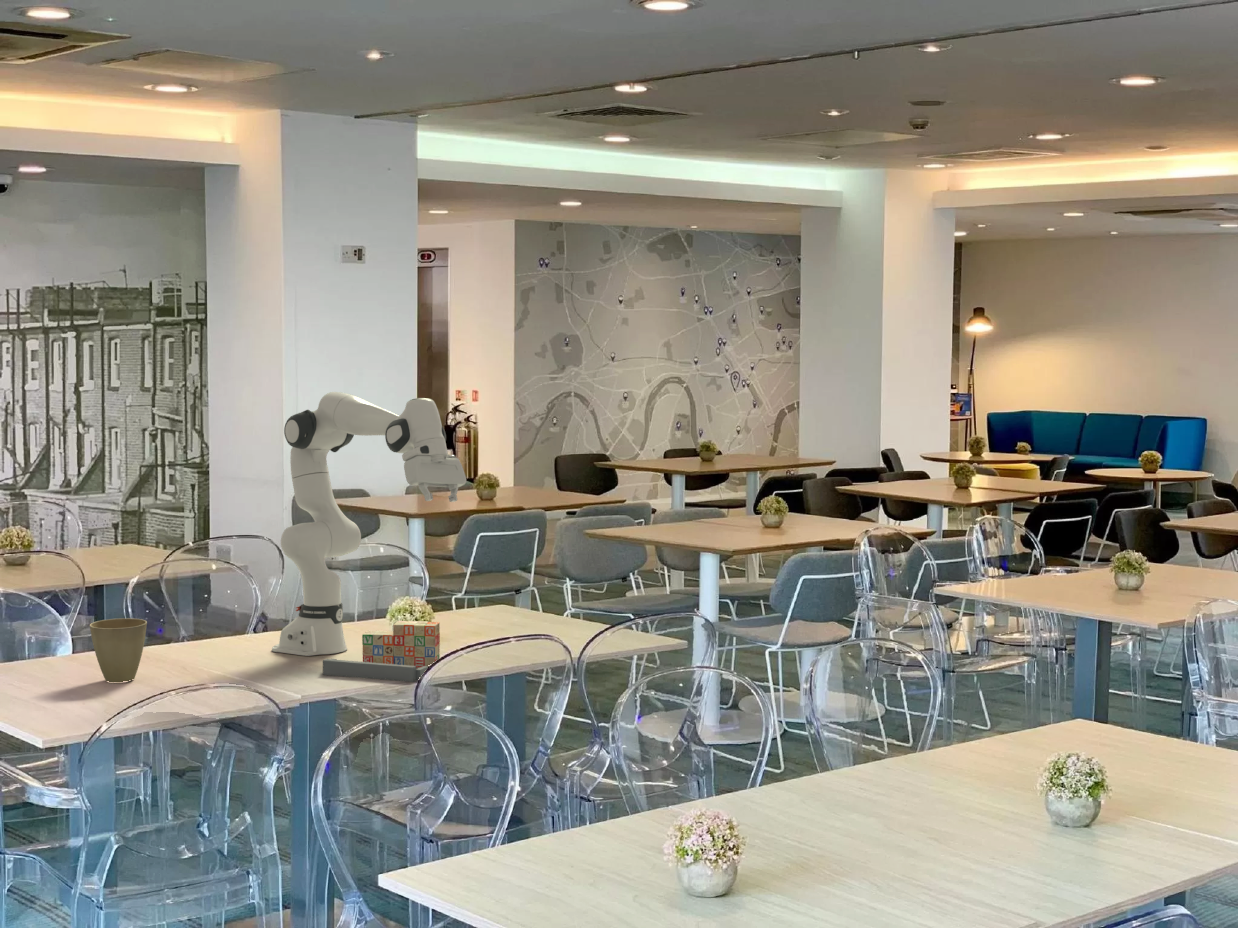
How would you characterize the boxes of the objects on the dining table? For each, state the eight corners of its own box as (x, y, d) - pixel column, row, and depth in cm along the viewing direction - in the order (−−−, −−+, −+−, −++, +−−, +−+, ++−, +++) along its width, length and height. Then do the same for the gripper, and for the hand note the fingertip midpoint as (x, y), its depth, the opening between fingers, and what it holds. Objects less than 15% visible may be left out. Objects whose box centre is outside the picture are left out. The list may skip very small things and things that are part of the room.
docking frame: (319, 674, 430) (318, 659, 430) (332, 669, 437) (331, 655, 436) (416, 682, 420) (416, 667, 419) (428, 677, 426) (428, 662, 426)
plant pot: (83, 679, 423) (81, 622, 422) (136, 672, 432) (135, 616, 431) (102, 689, 412) (100, 629, 410) (156, 681, 421) (155, 623, 419)
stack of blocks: (362, 666, 442) (361, 623, 441) (367, 661, 448) (367, 619, 447) (435, 667, 439) (435, 625, 438) (440, 663, 446) (439, 621, 445)
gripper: (449, 458, 436) (459, 505, 433) (397, 455, 420) (407, 503, 417) (465, 451, 433) (475, 498, 430) (413, 447, 417) (423, 496, 413)
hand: (441, 500), depth 423 cm, fingers open, 8 cm apart
